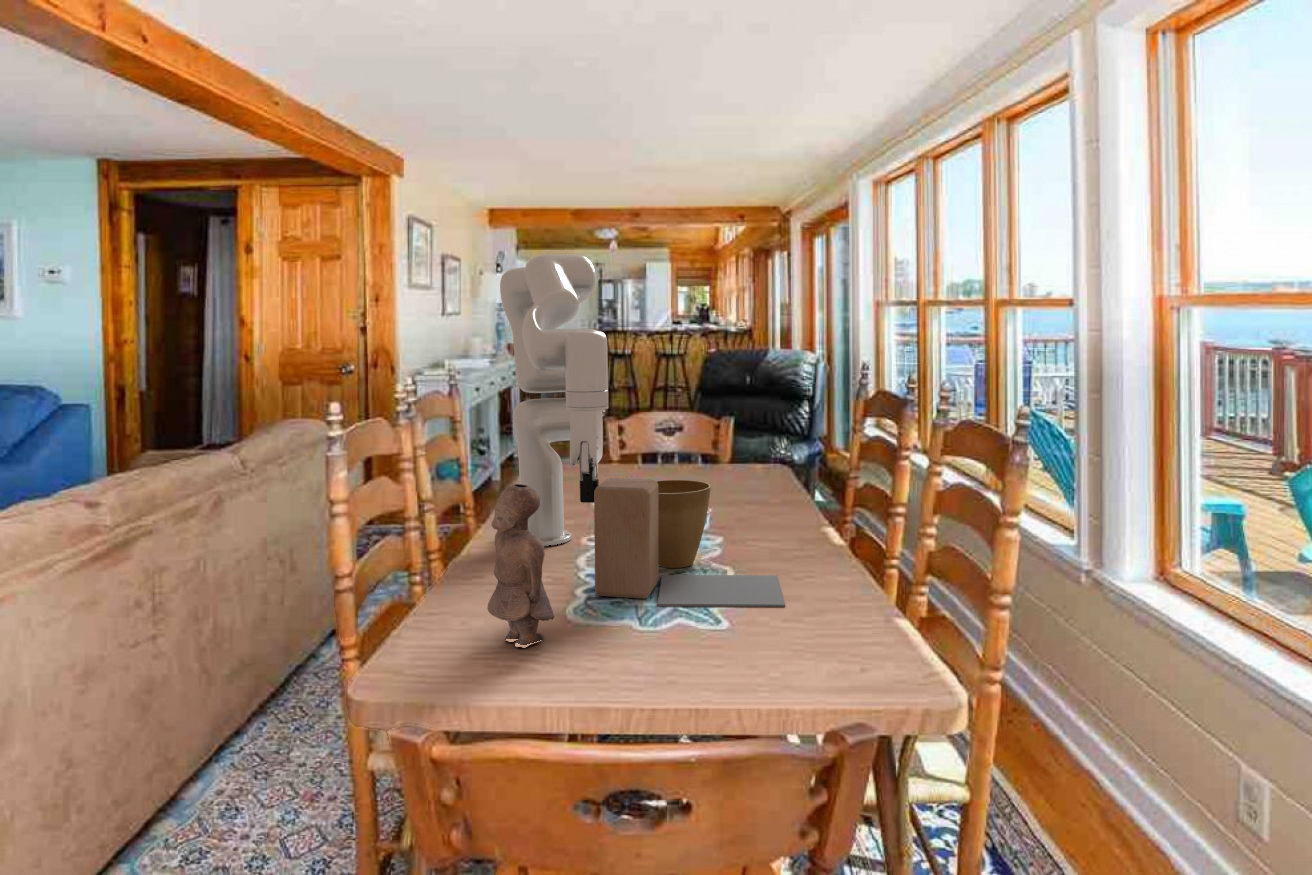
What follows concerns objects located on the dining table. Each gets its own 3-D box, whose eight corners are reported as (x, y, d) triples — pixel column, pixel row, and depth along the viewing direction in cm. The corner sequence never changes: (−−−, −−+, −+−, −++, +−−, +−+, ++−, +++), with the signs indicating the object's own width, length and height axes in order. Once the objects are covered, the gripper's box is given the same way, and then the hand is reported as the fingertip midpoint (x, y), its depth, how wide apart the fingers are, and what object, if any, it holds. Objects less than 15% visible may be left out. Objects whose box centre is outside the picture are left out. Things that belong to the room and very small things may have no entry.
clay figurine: (474, 638, 142) (468, 482, 139) (530, 624, 148) (525, 474, 145) (515, 662, 132) (509, 495, 128) (572, 646, 138) (568, 486, 134)
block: (648, 600, 159) (648, 489, 156) (593, 597, 161) (592, 487, 158) (659, 583, 169) (659, 478, 166) (607, 580, 171) (606, 476, 168)
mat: (657, 605, 156) (657, 603, 156) (662, 576, 173) (662, 574, 173) (785, 606, 155) (785, 604, 155) (777, 577, 172) (777, 575, 172)
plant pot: (719, 556, 187) (719, 480, 185) (699, 576, 173) (698, 494, 171) (651, 550, 192) (650, 476, 189) (626, 570, 178) (625, 490, 176)
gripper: (572, 396, 168) (575, 493, 171) (559, 405, 153) (562, 510, 156) (612, 396, 167) (614, 493, 170) (603, 405, 153) (605, 510, 155)
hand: (589, 501), depth 163 cm, fingers closed
